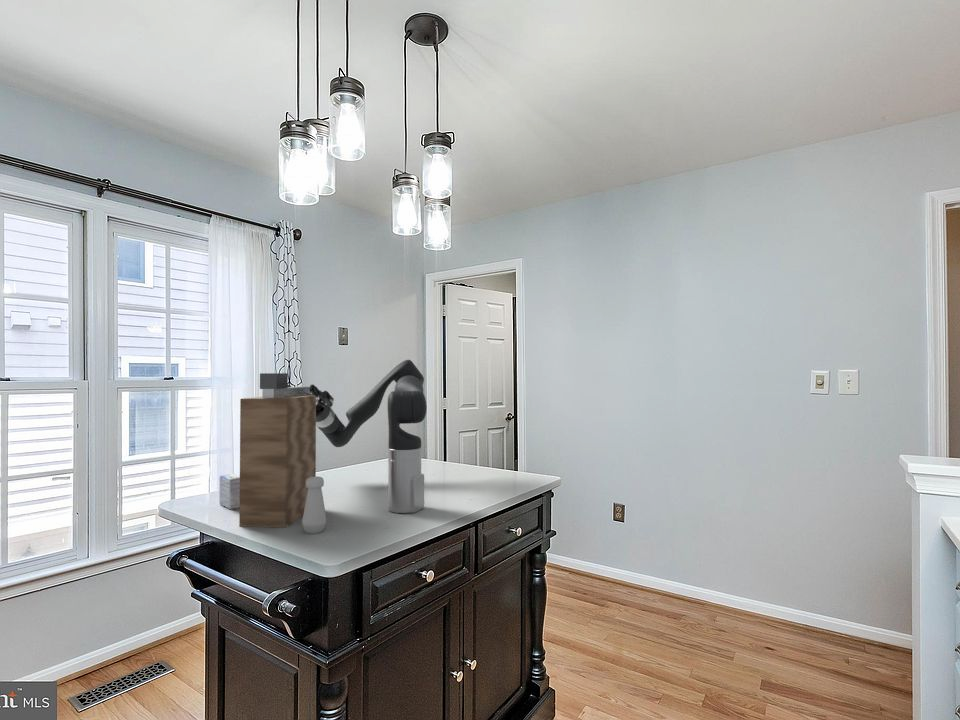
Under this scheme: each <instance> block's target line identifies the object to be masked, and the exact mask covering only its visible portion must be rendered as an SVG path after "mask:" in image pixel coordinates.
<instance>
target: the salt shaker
mask: <svg viewBox="0 0 960 720" xmlns="http://www.w3.org/2000/svg"><path fill="white" fill-rule="evenodd" d="M324 486H325V481H324V478H323V477H322V476H316V477H310V478H307V479H306V488H308V493H307V498H306V503H305V509H304V514H303V516H302V520H301V524H302V528H303V529H304V532H305V534H311V535H312V534H319V533H322V532H324V530H325V527H326V525H327V524H328V523H327V522H328V519H327V515H326V514H327V513H326V508H325V501H324V496H323V490H322V488H323V487H324Z"/></svg>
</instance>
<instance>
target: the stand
mask: <svg viewBox="0 0 960 720" xmlns="http://www.w3.org/2000/svg"><path fill="white" fill-rule="evenodd" d="M239 399H240V400H239V401H240V403H239V404H240V405H239V407H240V408H239V409H240V411H239V412H240V414H239V418H240V419H239V421H240V422H239V425H240V426H239V475H240V508H239V509H238V510H239V515H238V517H239V522H238V523H239V524H238V525H239V527H256V526H261V527H260V528H262V527H263V528H286V527H288V526H290V525H292V524H293V523H295V521H298V520H299V519H300V518H303V514H304V509H305V503H306V498H307V493H308V488H306V479H307V478H310V477H317V476H316V467H317V464H316V463H317V461H316V460H317V459H316V458H317V457H316V455H317V446H316V445H317V434H316V433H317V426H316V396H291V397H282V398H263V396H255V397H245V398H244V397H243V398H239ZM292 522H293V523H292ZM287 525H288V526H287Z"/></svg>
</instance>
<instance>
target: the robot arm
mask: <svg viewBox="0 0 960 720" xmlns="http://www.w3.org/2000/svg"><path fill="white" fill-rule="evenodd" d="M393 382H395V386H394V391H393V390H392V391H391V392H390V393H389V394H388V396H387V419H388V446H387V447H388V448H387V449H388V450H387V451H388V456H387V457H388V459H387V460H388V461H387V462H388V465H387V467H388V470H387V472H388V476H387V477H388V481H387V487H388V488H387V489H388V490H387V491H388V499H387V501H388V502H387V504H388V508H387V509H388V511H389V512H391V513H396V514H410V513H413V514H415V513H417V512H419V511H420V510H422V509H425V474H424V473H422V438H421V437H420V436H418V435H415V434H412V433H409V432H408V431H405V430H403V429H402V428H401V424H403V425H404V424H420V423H421V422H423V421H424V419H426V415H427V399H426V396H425V393H424V383H425V377H424V376H423V374H422V372H421V371H420V370H419V369H418V367H417V366H416V365H415V364H414V362H413V361H412V360H411V359H405V360H403V361H402V362H401V361H400V363H398V364H397V365H396V366H395V367H394V368H393V369H391V370H390V371H389V373H387V374H385V376H384V377H383V378H382V379H381V380H380V381H379V382H378V383H377V384H376V385H375V386H374V387H373V388H372V389H371V390H370V391H369V392H368V393H367V394H366V395H365V396H364V397H362V399H360V400H359V401H358V402H357V403H355V404H354V405H353V406H352V407H350V408H349V409H348V410H347V411H346V413H345V416H346V418H347V420H348V422H347V424H346V425H344V423H343V422H342V421H341V419H339V417H338V415H337V414H336V412H335V411H334V410H333V408H332V407H333V404H334V399H335V398H334V397H333V395H331V394H330V392H328V391H327V390H323V391H322V390H321V389H319V388H318V387H317V386H315V384H310V385H309V386H310V392H311V393H312V394H311V395H301V396H316V428H317V429H319V431H320V432H322V433H323V434H324V436H325V438H327V439H328V441H329V442H330V444H331V445H332V446H333V447H335V448H342V447H344V446H346V445H347V444H348V443H349V442H350V441H351V440H352V438H353V437H354V435H355V434H356V433H357V431H358V430H359V429H360V428H361V426H363V425H364V424H365V423H366V422H367V421H368V420H370V419H371V418H373V416H375V414H376V413H377V412H378V410H379V409H380V407H381V404H382V402H383V398H384V397H385V393H386V392H387V389H388V387H389V386H390V385H391V383H393ZM288 387H292V386H291V385H290V384H288Z"/></svg>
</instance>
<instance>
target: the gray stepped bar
mask: <svg viewBox="0 0 960 720" xmlns="http://www.w3.org/2000/svg"><path fill="white" fill-rule="evenodd" d="M288 380H289V373H287V372H284V373H283V372H282V373H281V372H278V373H277V372H276V373H274V372H272V373H268V372H266V373H265V372H264V373H263V372H262V373H261V372H260V373H259V390H262V397H263V398H282V397H291V396H301V395H311V394H312V393H311V392H310V385H309V386H306V385H304V386H302V385H301V386H291V387H288V385H289V382H288Z"/></svg>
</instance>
